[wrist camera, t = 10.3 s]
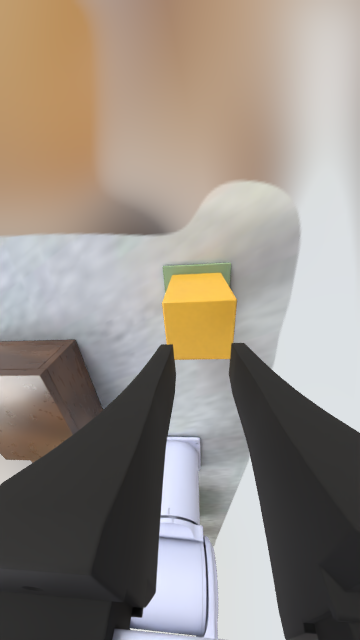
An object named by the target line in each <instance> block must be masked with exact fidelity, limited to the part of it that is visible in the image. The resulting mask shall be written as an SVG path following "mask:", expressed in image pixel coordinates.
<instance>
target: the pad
mask: <svg viewBox="0 0 360 640" xmlns="http://www.w3.org/2000/svg"><path fill="white" fill-rule="evenodd" d="M203 273H221V274H222V276H223V277H224V279H225V281H226V282H227V284H228V286H229V287H230V273H231V263H213V264H194V265H176V266H163V275H164V285H165V294H166V291H167V288H168V285H169V282H170V280H171V277H172V275H183V274H203Z"/></svg>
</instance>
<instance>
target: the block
mask: <svg viewBox="0 0 360 640" xmlns="http://www.w3.org/2000/svg"><path fill="white" fill-rule="evenodd" d="M236 305H237V299H236V298H235V296H234V294H233V292H232V291H231V289H230V287H229V286H228V284H227V282H226V281H225V279H224V277H223V276H222V274H221V273H203V274H183V275H172V277H171V280H170V282H169V285H168V288H167V291H166V294H165V296H164V299H163V302H162V307H163V316H164V324H165V333H166V341H167V344H173V350H174V360H186V359H230V355H231V343H233V340H234V328H235V317H236Z"/></svg>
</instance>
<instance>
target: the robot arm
mask: <svg viewBox="0 0 360 640" xmlns="http://www.w3.org/2000/svg"><path fill="white" fill-rule="evenodd" d="M229 377H230V383H231V388H232V393H233V397H234V400H235V403H236V407H237V410H238V413H239V417H240V420H241V423H242V427H243V430H244V433H245V437H246V440H247V444H248V448H249V452H250V457H251V462H252V466H253V471H254V476H255V481H256V486H257V491H258V496H259V500H260V506H261V512H262V517H263V522H264V528H265V533H266V538H267V544H268V550H269V555H270V561H271V567H272V573H273V578H274V584H275V591H276V597H277V603H278V608H279V614H280V618H281V622H282V627H283V631H284V636H285V639H286V640H360V433H359V432H357V431H356V430H354V429H353V428H351V427H349V426H348V425H346V424H345V423H343V422H342V421H340V420H338V419H337V418H335V417H334V416H332V415H331V414H329V413H327V412H326V411H325V410H323V409H322V408H320V407H319V406H317V405H316V404H315V403H313V402H312V401H310V400H309V399H307V398H306V397H305V396H303V395H302V394H301V393H299V392H298V391H297V390H295V389H294V388H293V387H292V386H290V385H289V384H288V383H287V382H286V381H284V380H283V379H282V378H281V377H280V376H278V375H277V374H276V373H275V372H274V371H273V370H272V369H270V368H269V367H268V366H267V365H266V364H265V363H264V362H263V361H262V360H261V359H260V358H259V357H258V356H257V355H256V354H255V353H254V352H253V351H252V350H251V349H250V348H249V347H248V346H247V345H245V344H244V343H231V355H230V367H229ZM175 381H176V371H175V360H174V350H173V344H167V345H160V346H159V348H158V349H157V351H156V352H155V354H154V355H153V356H152V358H151V359H150V360H149V362H148V363H147V364H146V365H145V367H144V368H143V369H142V370H141V372H140V373H139V374H138V375H137V376H136V378H135V379H134V380H133V381H132V382H131V383H130V384H129V385H128V387H127V388H126V389H125V390H124V391H123V392H122V393H121V394H120V395H119V396H118V397H117V398H116V399H115V400H114V401H113V402H112V403H110V404H109V405H108V406H107V407H106V408H105V409H104V410H103V411H101V412H100V413H99V414H98V415H97V416H96V417H94V418H93V419H92V420H91V421H90V422H89V423H87V424H86V425H85V426H84V427H82V428H81V429H80V430H78V431H77V432H76V433H74V434H73V435H72V436H71V437H69V438H68V439H67V440H65V441H64V442H62V443H61V444H60V445H58V446H57V447H56V448H54V449H53V450H51V451H50V452H48V453H47V454H46V455H44V456H43V457H41V458H39V459H38V460H36V461H35V462H33V463H32V464H31V465H29V466H28V467H26V468H25V469H23V470H21V471H20V472H18V473H17V474H16V475H14V476H12V477H11V478H9V479H8V480H6V481H4V482H3V483H2V484H1V485H0V640H223V639H218V630H217V621H218V582H217V569H216V561H215V555H214V549H213V546H212V544H211V542H210V541H209V538H208V537H207V536H203V526H200V508H199V474H198V471H200V470H201V459H200V438H198V437H167V436H168V430H169V424H170V418H171V412H172V406H173V400H174V394H175ZM130 628H134V629H144V630H152V631H161V632H170V633H179V634H187V635H196V637H192V636H183V635H173V634H163V633H153V632H143V631H133V630H130Z"/></svg>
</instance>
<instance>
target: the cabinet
mask: <svg viewBox="0 0 360 640" xmlns="http://www.w3.org/2000/svg"><path fill="white" fill-rule="evenodd" d="M101 411H103V409H102V407H101V404H100V402H99V399H98V397H97V394H96V391H95V389H94V386H93V384H92V381H91V379H90V376H89V374H88V371H87V368H86V366H85V363H84V361H83V358H82V356H81V353H80V351H79V348H78V346H77V343H76V340H43V341H0V454H1V455H2V456H3V457H4V458H5V459H7V460H38V459H39V458H41V457H43V456H44V455H46V454H47V453H48V452H50V451H51V450H53V449H54V448H56V447H57V446H58V445H60V444H61V443H62V442H64V441H65V440H67V439H68V438H69V437H71V436H72V435H73V434H74V433H76V432H77V431H78V430H80V429H81V428H82V427H84V426H85V425H86V424H87V423H89V422H90V421H91V420H92V419H93V418H94V417H96V416H97V415H98V414H99V413H100V412H101Z"/></svg>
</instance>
